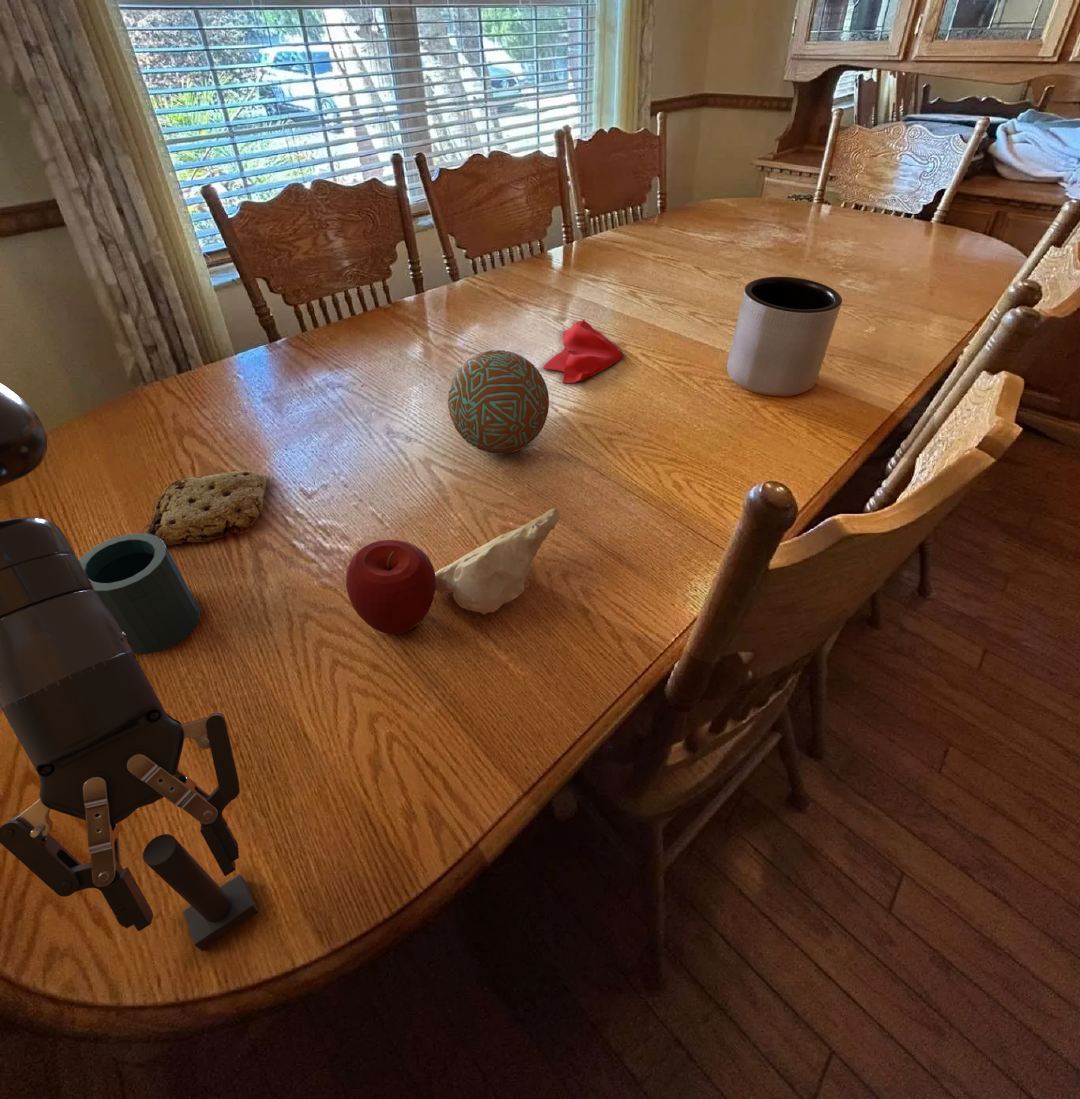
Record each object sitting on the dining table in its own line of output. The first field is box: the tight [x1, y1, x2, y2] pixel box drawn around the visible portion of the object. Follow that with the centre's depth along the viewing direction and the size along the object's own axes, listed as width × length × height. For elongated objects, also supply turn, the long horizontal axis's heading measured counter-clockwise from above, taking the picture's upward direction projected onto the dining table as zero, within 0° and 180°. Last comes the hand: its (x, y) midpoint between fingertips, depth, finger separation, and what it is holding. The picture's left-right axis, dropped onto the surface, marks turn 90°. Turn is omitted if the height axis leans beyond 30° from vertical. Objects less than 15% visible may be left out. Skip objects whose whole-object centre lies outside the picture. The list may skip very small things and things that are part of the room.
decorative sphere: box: [447, 349, 550, 455], centre depth 94 cm, size 15×15×15 cm
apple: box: [345, 539, 436, 635], centre depth 69 cm, size 10×10×10 cm
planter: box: [726, 276, 843, 397], centre depth 110 cm, size 16×16×16 cm
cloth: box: [542, 319, 624, 384], centre depth 122 cm, size 26×14×2 cm, turn 164°
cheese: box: [435, 507, 561, 615], centre depth 74 cm, size 15×7×15 cm
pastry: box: [145, 469, 267, 547], centre depth 86 cm, size 17×17×3 cm
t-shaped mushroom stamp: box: [142, 833, 259, 952], centre depth 46 cm, size 4×3×13 cm
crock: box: [78, 532, 201, 655], centre depth 68 cm, size 9×9×10 cm
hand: (189, 894), depth 43 cm, fingers open, 5 cm apart
